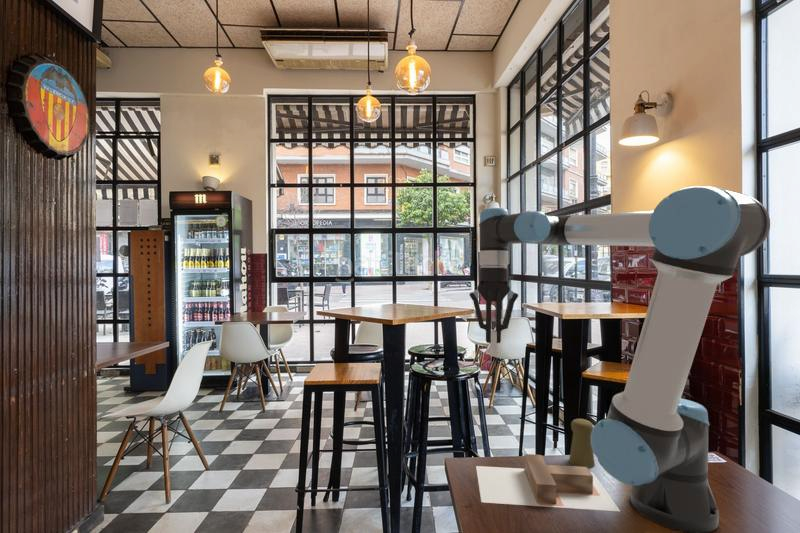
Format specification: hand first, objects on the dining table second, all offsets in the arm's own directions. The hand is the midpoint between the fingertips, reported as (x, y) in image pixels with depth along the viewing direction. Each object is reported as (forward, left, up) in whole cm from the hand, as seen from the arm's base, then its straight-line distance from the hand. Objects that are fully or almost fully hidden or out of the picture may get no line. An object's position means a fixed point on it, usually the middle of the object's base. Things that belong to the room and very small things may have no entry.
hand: (493, 354), depth 111 cm
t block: (-12, +16, -26) cm, 33 cm away
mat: (-9, +16, -26) cm, 32 cm away
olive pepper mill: (-22, +3, -27) cm, 35 cm away
